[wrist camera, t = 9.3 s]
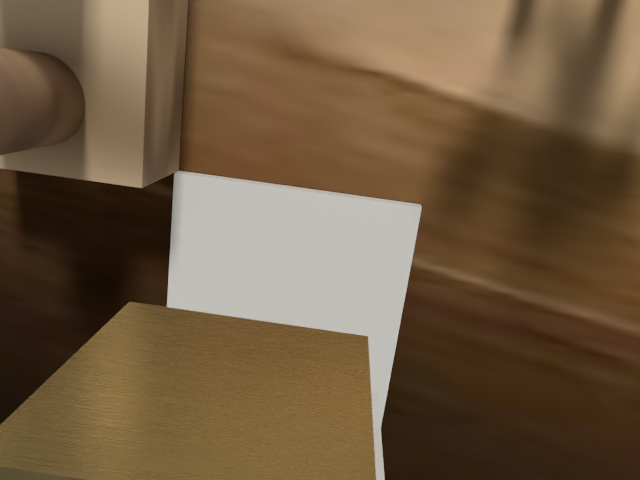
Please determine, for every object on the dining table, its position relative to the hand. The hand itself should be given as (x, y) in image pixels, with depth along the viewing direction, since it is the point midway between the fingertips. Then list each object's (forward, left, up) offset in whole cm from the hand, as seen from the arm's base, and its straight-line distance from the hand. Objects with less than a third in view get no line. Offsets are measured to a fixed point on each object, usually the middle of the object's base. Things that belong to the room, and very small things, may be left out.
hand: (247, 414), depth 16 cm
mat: (0, 0, -8) cm, 8 cm away
